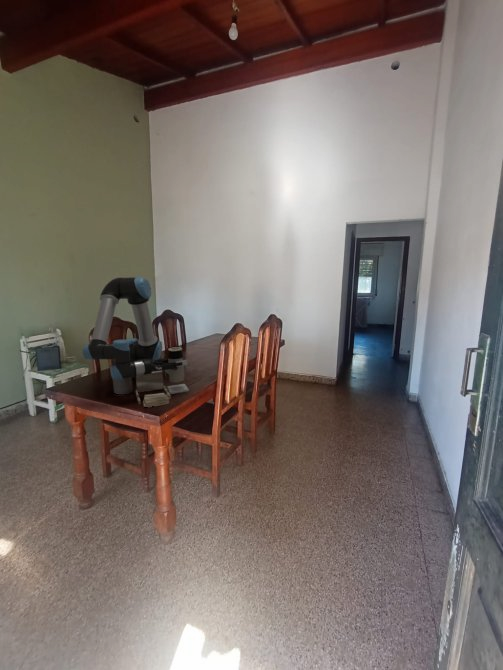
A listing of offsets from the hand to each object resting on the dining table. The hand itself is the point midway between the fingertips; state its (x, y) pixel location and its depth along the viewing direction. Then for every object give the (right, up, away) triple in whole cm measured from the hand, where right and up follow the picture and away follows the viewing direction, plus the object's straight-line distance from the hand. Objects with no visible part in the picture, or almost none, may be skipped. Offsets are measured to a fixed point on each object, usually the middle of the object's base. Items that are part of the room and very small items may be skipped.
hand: (184, 360), depth 187 cm
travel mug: (-4, -11, -1) cm, 12 cm away
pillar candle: (-33, -17, -2) cm, 37 cm away
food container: (-10, -12, +22) cm, 27 cm away
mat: (-4, -16, +1) cm, 17 cm away
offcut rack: (-14, -19, -10) cm, 25 cm away
